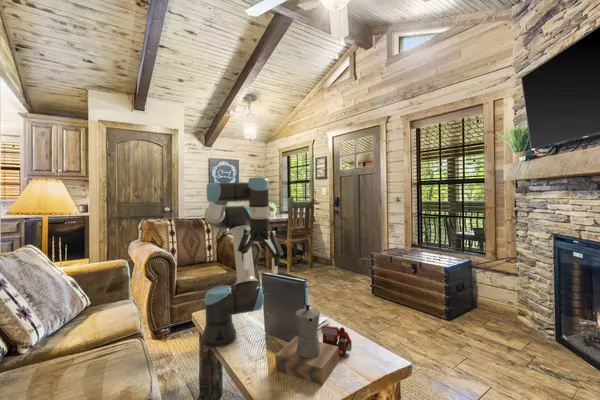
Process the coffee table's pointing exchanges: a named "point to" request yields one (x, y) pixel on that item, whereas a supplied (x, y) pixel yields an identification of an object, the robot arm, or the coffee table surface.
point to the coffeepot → (308, 332)
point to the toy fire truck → (332, 338)
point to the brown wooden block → (307, 362)
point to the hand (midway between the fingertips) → (260, 271)
